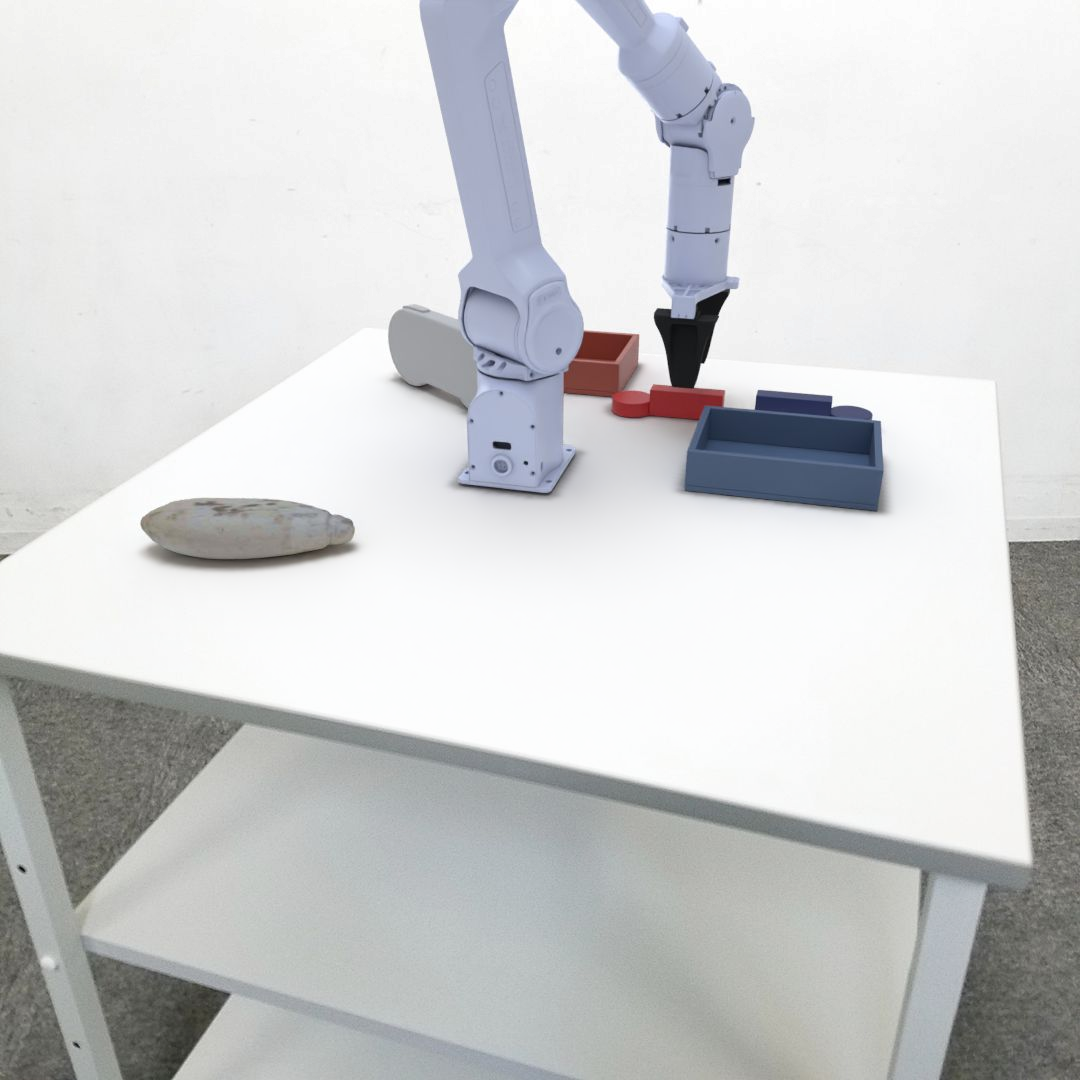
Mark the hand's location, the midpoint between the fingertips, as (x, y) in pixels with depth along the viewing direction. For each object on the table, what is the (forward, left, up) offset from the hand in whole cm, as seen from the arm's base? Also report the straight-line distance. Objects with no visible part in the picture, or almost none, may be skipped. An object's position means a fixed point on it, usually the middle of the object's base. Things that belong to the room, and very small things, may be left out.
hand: (688, 374), depth 99 cm
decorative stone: (-36, +27, -4) cm, 45 cm away
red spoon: (0, +2, -4) cm, 5 cm away
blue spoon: (+1, -12, -4) cm, 13 cm away
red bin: (+9, +15, -4) cm, 18 cm away
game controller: (-1, +24, -4) cm, 24 cm away
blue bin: (-12, -10, -4) cm, 16 cm away
